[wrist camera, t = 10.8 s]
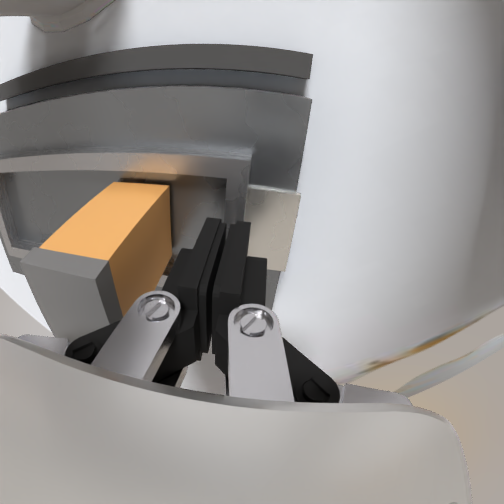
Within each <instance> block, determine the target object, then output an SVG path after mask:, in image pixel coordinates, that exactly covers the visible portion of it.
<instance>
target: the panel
mask: <svg viewBox="0 0 504 504" xmlns="http://www.w3.org/2000/svg"><path fill="white" fill-rule="evenodd" d="M311 103H312V99H310V98H307V97H304V96H299V95H293V94H287V93H280V92H272V91H264V90H255V89H245V88H233V87H217V86H148V87H132V88H121V89H111V90H102V91H95V92H88V93H81V94H75V95H70V96H64V97H59V98H54V99H50V100H45V101H41V102H37V103H33V104H29V105H25V106H21V107H18V108H14V109H11V110H8V111H5V112H2V113H0V238H1V241H2V244H3V247H4V250H5V252H6V255H7V258H8V260H9V263H10V265H11V268H12V270H13V272H16V273H20V274H23V275H25V274H24V272H23V269H22V267H21V264H20V261H21V260H22V259H23V258H24V257H25V256H26V255H27V254H28V253H29V252H30V251H31V250H32V249H33V247H37V248H39V247H40V246H41V245H42V244H43V243H44V242H45V241H46V240H47V239H48V238H49V237H50V236H51V235H53V234H54V233H55V232H56V231H57V230H58V229H59V228H60V227H61V226H62V225H63V224H64V223H65V222H66V221H67V220H69V219H70V218H71V217H72V216H73V215H74V214H75V213H76V212H78V211H79V210H80V209H81V208H82V207H83V206H85V205H86V204H87V203H88V202H89V201H90V200H92V199H93V198H94V197H95V196H96V195H98V194H99V193H100V192H101V191H103V190H104V189H105V188H106V187H108V186H109V185H110V184H112V183H113V182H126V183H143V184H157V185H170V222H171V243H172V256H171V258H170V260H169V262H168V264H167V266H166V268H165V270H164V272H163V274H162V276H161V278H160V280H159V282H158V284H157V286H156V288H155V290H154V291H161V290H162V288H163V286H164V283H165V281H166V279H167V277H168V275H169V273H170V271H171V268H172V266H173V264H174V262H175V260H176V258H177V256H178V254H179V252H180V250H181V248H188V249H193V247H194V245H195V243H196V241H197V238H198V236H199V234H200V231H201V229H202V227H203V225H204V222H205V220H206V218H207V217H210V218H219V219H222V223H226V224H227V228H226V239H227V235H228V231H229V228H230V224H236V222H237V221H245V222H251V228H250V237H249V246H248V255H247V256H252V257H261V258H267V279H266V300H265V307H267V308H269V309H270V310H272V307H273V302H274V298H275V293H276V289H277V284H278V279H279V275H280V271H285V269H286V264H287V260H288V255H289V251H290V246H291V242H292V237H293V232H294V227H295V223H296V218H297V213H298V208H299V203H300V198H301V193H296V190H297V185H298V179H299V174H300V168H301V163H302V157H303V151H304V145H305V140H306V134H307V128H308V122H309V116H310V109H311Z"/></svg>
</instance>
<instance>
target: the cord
mask: <svg viewBox="0 0 504 504" xmlns="http://www.w3.org/2000/svg"><path fill="white" fill-rule="evenodd" d="M312 58H313V54H308V53H303V52H297V51H290V50H284V49H276V48H268V47H258V46H246V45H230V44H178V45H161V46H150V47H140V48H132V49H125V50H118V51H112V52H107V53H101V54H96V55H91V56H87V57H82V58H78V59H74V60H70V61H66V62H63V63H59V64H55V65H52V66H49V67H46V68H42V69H39V70H36V71H34V72H31V73H28V74H25V75H22V76H20V77H17V78H15V79H12V80H10V81H7V82H5V83H3V84H0V101H2V100H6V99H9V98H11V97H14V96H17V95H21V94H24V93H27V92H30V91H34V90H37V89H41V88H44V87H48V86H52V85H56V84H60V83H65V82H69V81H74V80H79V79H85V78H90V77H96V76H102V75H109V74H117V73H126V72H135V71H148V70H165V69H219V70H237V71H249V72H259V73H268V74H276V75H283V76H290V77H296V78H302V79H310V72H311V65H312Z"/></svg>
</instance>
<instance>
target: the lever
mask: <svg viewBox="0 0 504 504" xmlns="http://www.w3.org/2000/svg"><path fill="white" fill-rule="evenodd" d="M171 256H172V243H171V222H170V185H157V184H143V183H126V182H113V183H112V184H110V185H109V186H108V187H106V188H105V189H104V190H103V191H101V192H100V193H99V194H98V195H96V196H95V197H94V198H93V199H92V200H90V201H89V202H88V203H87V204H86V205H85V206H83V207H82V208H81V209H80V210H79V211H78V212H76V213H75V214H74V215H73V216H72V217H71V218H70V219H69V220H67V221H66V222H65V223H64V224H63V225H62V226H61V227H60V228H59V229H58V230H57V231H56V232H55V233H54V234H53V235H51V236H50V237H49V238H48V239H47V240H46V241H45V242H44V243H43V244H42V245H41V246H40V247H39V248H37V247H33V249H32V250H31V251H30V252H29V253H28V254H27V255H26V256H25V257H24V258H23V259H22V260H21V261H20V264H21V267H22V269H23V272H24V274H25V277H26V279H27V282H28V284H29V286H30V289H31V291H32V293H33V295H34V297H35V300H36V302H37V304H38V306H39V308H40V310H41V312H42V314H43V316H44V318H45V320H46V322H47V324H48V326H49V327H50V329H51V331H52V333H53V335H54V336H55V338H66V339H69V340H70V342H73V341H74V340H75V339H77V338H79V337H81V336H84V335H86V334H88V333H91V332H93V331H95V330H98V329H100V328H103V327H105V326H107V325H110V324H112V323H114V322H117V321H119V320H122V318H123V317H124V316H125V314H126V313H127V312H128V310H129V309H130V307H131V306H132V305H133V303H134V302H135V301H136V300H137V299H138V298H139V297H140V296H141V295H143V294H145V293H147V292H151V291H154V290H155V288H156V286H157V284H158V282H159V280H160V278H161V276H162V274H163V272H164V270H165V268H166V266H167V264H168V262H169V260H170V258H171Z"/></svg>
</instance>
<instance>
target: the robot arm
mask: <svg viewBox="0 0 504 504" xmlns="http://www.w3.org/2000/svg"><path fill="white" fill-rule="evenodd" d="M226 228H227V224H226V223H222V219H219V218H210V217H207V218H206V220H205V222H204V225H203V227H202V229H201V231H200V234H199V236H198V238H197V241H196V243H195V245H194V247H193V249H188V248H181V250H180V252H179V254H178V256H177V258H176V260H175V262H174V264H173V266H172V268H171V271H170V273H169V275H168V277H167V279H166V281H165V283H164V286H163V288H162V290H161V291H151V292H147V293H145V294H143V295H141V296H140V297H139V298H138V299H137V300H136V301H135V302H134V303H133V305H132V306H131V307H130V309H129V310H128V312H127V313H126V314H125V316H124V317H123V318H122V320H119V321H117V322H114V323H112V324H110V325H107V326H105V327H103V328H100V329H98V330H95V331H93V332H91V333H88V334H86V335H84V336H81V337H79V338H77V339H75V340H74V341H73V342H70V340H69V339H66V338H55V337H44V336H36V335H22V336H20V337H18V338H16V337H13V336H9V335H5V334H0V504H472V494H471V485H470V479H469V473H468V468H467V463H466V459H465V455H464V451H463V448H462V445H461V442H460V439H459V437H458V435H457V432H456V431H455V429H454V427H453V426H452V424H451V423H450V422H449V421H448V420H447V419H446V418H444V417H443V416H441V415H439V414H437V413H435V412H432V411H429V410H426V409H423V408H419V407H415V406H413V405H412V403H411V402H410V400H409V399H408V398H407V397H406V396H404V395H402V394H400V393H396V392H389V391H383V390H378V389H372V388H366V387H361V386H357V385H352V384H347V383H346V384H345V385H344V386H342V385H337V384H336V383H335V382H334V380H333V379H332V378H331V377H329V376H328V375H327V374H326V373H325V372H323V371H322V370H321V369H320V368H318V367H317V366H316V365H315V364H314V363H312V362H311V361H310V360H309V359H308V358H307V357H305V356H304V355H303V354H302V353H301V352H299V351H298V350H297V349H296V348H295V347H294V346H292V345H291V344H290V343H289V342H288V341H286V340H285V339H284V338H283V337H282V334H281V329H280V324H279V320H278V318H277V316H276V314H275V313H274V312H273V311H272V310H270V309H269V308H267V307H265V300H266V279H267V258H261V257H252V256H247V255H248V246H249V237H250V228H251V222H245V221H237V222H236V224H230V228H229V231H228V235H227V239H226ZM211 337H212V354H215V364H216V366H217V367H218V368H219V369H220V370H221V371H222V372H223V373H224V374H225V395H218V394H211V393H205V392H199V391H193V390H188V389H182V388H180V386H181V384H182V382H183V379H184V377H185V375H186V373H187V368H188V365H190V364H192V363H194V362H196V360H199V361H201V357H202V353H208V351H209V346H210V341H211Z"/></svg>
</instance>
